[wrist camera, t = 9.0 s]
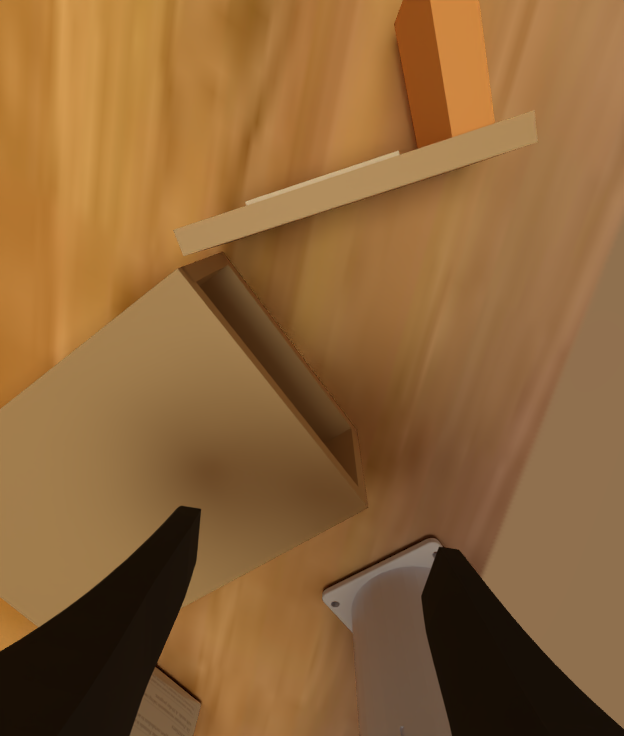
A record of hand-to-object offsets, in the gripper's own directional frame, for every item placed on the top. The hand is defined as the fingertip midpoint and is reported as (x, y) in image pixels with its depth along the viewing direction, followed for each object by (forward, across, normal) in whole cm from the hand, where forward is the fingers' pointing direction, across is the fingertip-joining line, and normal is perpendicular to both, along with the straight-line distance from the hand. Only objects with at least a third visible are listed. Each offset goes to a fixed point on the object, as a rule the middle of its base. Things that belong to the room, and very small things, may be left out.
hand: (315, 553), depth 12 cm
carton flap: (+9, +2, -12) cm, 15 cm away
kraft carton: (+9, +7, +2) cm, 12 cm away
